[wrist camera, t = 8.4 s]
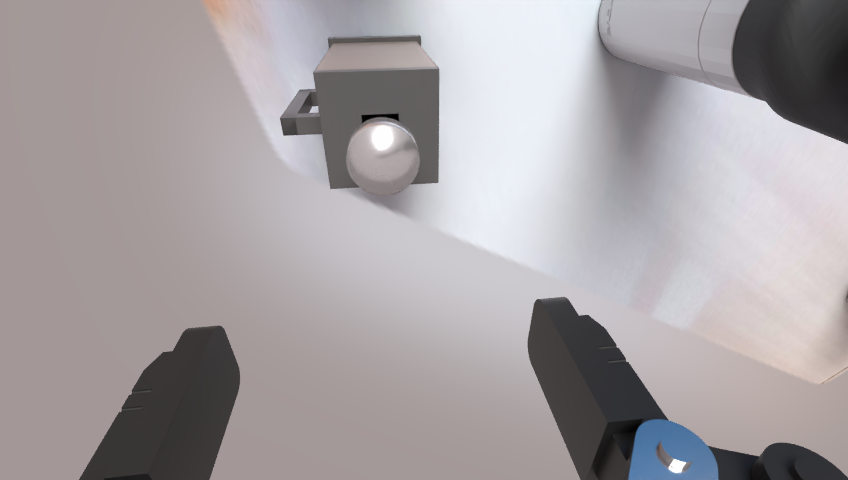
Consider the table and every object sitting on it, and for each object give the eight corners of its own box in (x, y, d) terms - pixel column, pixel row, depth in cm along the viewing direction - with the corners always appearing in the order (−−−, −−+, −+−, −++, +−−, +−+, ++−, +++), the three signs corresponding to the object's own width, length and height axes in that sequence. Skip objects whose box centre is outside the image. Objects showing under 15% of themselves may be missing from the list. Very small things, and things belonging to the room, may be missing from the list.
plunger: (410, 55, 35) (438, 103, 21) (412, 124, 38) (437, 207, 24) (341, 57, 35) (319, 108, 20) (348, 126, 38) (334, 213, 23)
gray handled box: (419, 35, 38) (445, 61, 25) (420, 124, 42) (443, 187, 29) (300, 38, 37) (260, 67, 24) (314, 129, 41) (287, 196, 28)
